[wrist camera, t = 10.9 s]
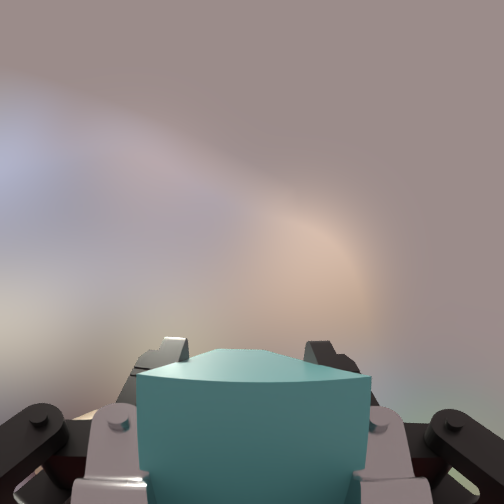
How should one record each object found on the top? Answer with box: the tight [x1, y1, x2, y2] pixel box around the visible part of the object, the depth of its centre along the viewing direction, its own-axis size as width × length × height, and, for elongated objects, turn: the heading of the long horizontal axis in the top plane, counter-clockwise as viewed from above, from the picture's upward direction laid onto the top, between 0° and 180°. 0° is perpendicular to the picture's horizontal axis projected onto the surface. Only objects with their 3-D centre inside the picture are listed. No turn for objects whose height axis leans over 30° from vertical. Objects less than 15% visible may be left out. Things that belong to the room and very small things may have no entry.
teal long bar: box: [136, 349, 371, 504], centre depth 15 cm, size 4×22×4 cm, turn 3°
